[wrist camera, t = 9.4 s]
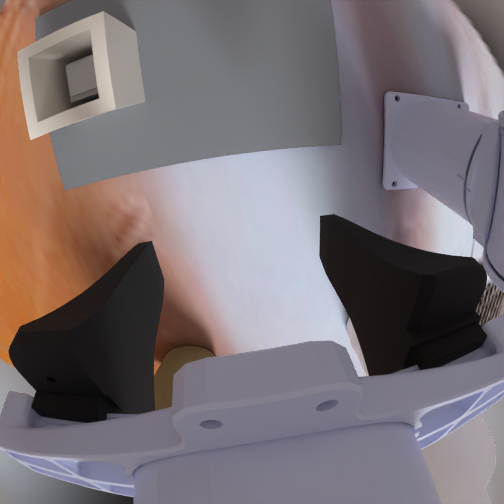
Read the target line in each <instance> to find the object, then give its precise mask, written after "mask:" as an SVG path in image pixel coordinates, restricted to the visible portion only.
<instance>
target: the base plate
mask: <svg viewBox="0 0 504 504" xmlns="http://www.w3.org/2000/svg"><path fill="white" fill-rule="evenodd" d="M103 11H104V12H106V13H107V14H109V15H111V16H112V17H114V18H116V19H117V20H119V21H120V22H122V23H124V24H125V25H127V26H128V27H130V28H131V29H133V30H135V31H136V35H137V44H138V52H139V60H140V67H141V74H142V81H143V88H144V94H145V100H146V102H142V103H138V104H134V105H130V106H127V107H123V108H120V109H116V110H113V111H109V112H106V113H103V114H100V115H97V116H94V117H91V118H88V119H85V120H82V121H79V122H76V123H73V124H70V125H68V126H65V127H62V128H59V129H57V130H54V131H52V132H49V133H50V137H51V142H52V146H53V150H54V154H55V158H56V162H57V165H58V169H59V172H60V176H61V179H62V183H63V186H64V189H65V191H66V190H69V189H73V188H76V187H80V186H83V185H87V184H90V183H94V182H98V181H102V180H106V179H110V178H114V177H118V176H122V175H126V174H130V173H135V172H139V171H144V170H148V169H153V168H158V167H163V166H168V165H173V164H178V163H184V162H189V161H195V160H201V159H207V158H214V157H220V156H227V155H234V154H242V153H249V152H258V151H267V150H276V149H286V148H298V147H311V146H326V145H341V108H340V89H339V73H338V61H337V50H336V40H335V31H334V22H333V14H332V7H331V0H71V1H69V2H67V3H65V4H62V5H60V6H58V7H56V8H54V9H52V10H50V11H48V12H47V13H45V14H43V15H41V16H39V17H37V18H36V41H38V40H40V39H42V38H43V37H45V36H47V35H49V34H51V33H53V32H55V31H57V30H59V29H62V28H64V27H66V26H68V25H70V24H73V23H75V22H77V21H80V20H82V19H84V18H87V17H89V16H92V15H95V14H97V13H100V12H103ZM66 73H67V81H68V87H69V94H70V100H71V103H72V102H78V101H83V103H84V104H85V103H88V102H91V101H94V100H96V99H99V94H98V88H97V81H96V74H95V67H94V59H93V55H90V56H87V57H85V58H82V59H80V60H77V61H75V62H72V63H70V64H68V65H66Z"/></svg>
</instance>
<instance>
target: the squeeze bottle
mask: <svg viewBox="0 0 504 504" xmlns="http://www.w3.org/2000/svg"><path fill="white" fill-rule="evenodd" d="M207 357H215V355H214V354H213V353H212V352H210V351H208V350H206V349H205V348H201V347H197V346H181V347H177V348H173V349H172V350H171V351H169V352H168V353H167V354H166V356H165V357H164V359H163V361H162V363H161V365H160V366H159V368H158V370H157V372H156V374H155V375H154V397H155V411H156V410H160V409H164V408H169V407H172V395H173V378H174V374H175V373H176V372H177V371H178V370H179V369H181V368H182V367H183V366H184V365H185V364H187V363H190V362H193V361H197V360H200V359H204V358H207Z"/></svg>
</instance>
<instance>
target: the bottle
mask: <svg viewBox="0 0 504 504" xmlns="http://www.w3.org/2000/svg"><path fill="white" fill-rule="evenodd" d="M346 328H347V334H348V336H349V338H350V342H351V345H352V347H353V350H354V351H355V353H356V354H357V356H358V358H359V360H360V363H361V365H362V367H363V369H364V372H365V374H366V376H369V374H368V371H367V367H366V364H365V360H364V357H363V353H362V350H361V347H360V344H359V341H358V339H357V336H356V333H355V330H354V328H353V325H352V322H351V320H350V317H349V319H348V322H347V325H346ZM421 451H422V453H423V456H424V458H425V461H426V463H427V466H428V468H429V471H430V473H431V476H432V479H433V481H434V484H435V487H436V489H437V492H438V495H439V497H440V500H441V503H442V504H492V503H491V500H490V497H489V494H488V492H487V489H486V488H487V486H488V484H489V482H490V480H491V477H492V475H493V472H494V470H495V467H496V449H495V442H494V440H493V438H492V436H491V434H490V432H489V430H488V428H487V426H486V424H485V422H484V420H483V418H482V416H481V414H479V415H477V416H476V417H474V418H473V419H472V420H470V421H469V422H467V423H465V424H464V425H462V426H461V427H459V428H458V429H456V430H455V431H453V432H451V433H450V434H448V435H446V436H445V437H443V438H441V439H440V440H438V441H436V442H434V443H433V444H431V445H429V446H427V447H425V448H423V449H422V450H421Z"/></svg>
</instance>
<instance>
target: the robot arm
mask: <svg viewBox="0 0 504 504" xmlns="http://www.w3.org/2000/svg"><path fill="white" fill-rule="evenodd" d="M395 96H397V98H398V99H397V101H395ZM384 106H385V132H384V163H383V180H382V186H383V188H385V189H386V190H399V189H412V188H421V189H423V190H424V191H426V192H427V193H429V194H430V195H432V196H433V197H434V198H436V199H437V200H439V201H440V202H442V203H443V204H444V205H446V206H447V207H449V208H450V209H451V210H453V211H454V212H456V213H457V214H458V215H460V216H461V217H462V218H464V219H465V220H466V221H468V222H469V223H470V224H471V225H473V238H474V239H475V240H476V241H477V242H478V243H479V244H481V245H482V246H483V247H484V250H483V257H482V259H483V265H484V268H485V269H484V268H483V267H482V266H481V265H480V264H479V263H478V262H477V261H476V260H475V259H474V258H472V257H462V256H451V255H445V254H439V253H434V252H429V251H425V250H421V249H417V248H413V247H410V246H406V245H403V244H400V243H398V242H395V241H392V240H389V239H387V238H385V237H382V236H380V235H378V234H375V233H373V232H371V231H369V230H367V229H365V228H363V227H361V226H358V225H356V224H354V223H352V222H350V221H348V220H346V219H344V218H342V217H340V216H337V215H334V214H332V215H324V216H320V259H321V262H322V264H323V267H324V270H325V272H326V275H327V276H328V278H329V280H330V282H331V284H332V286H333V287H334V289H335V291H336V293H337V295H338V296H339V298H340V300H341V302H342V304H343V306H344V307H345V309H346V311H347V313H348V315H349V317H350V320H351V322H352V325H353V328H354V330H355V333H356V336H357V339H358V341H359V344H360V347H361V350H362V353H363V357H364V360H365V364H366V367H367V371H368V374H369V376H366V377H358V375H357V373H356V370H355V368H354V366H353V363H352V361H351V359H350V356H349V354H348V352H347V349H346V348H345V347H343V346H341V345H339V344H337V343H335V342H333V341H309V342H304V343H298V344H293V345H288V346H282V347H277V348H271V349H265V350H258V351H252V352H245V353H238V354H231V355H223V356H215V357H207V358H204V359H200V360H197V361H193V362H190V363H187V364H185V365H184V366H183V367H182V368H181V369H179V370H178V371H177V372H176V373H175V374H174V378H173V395H172V407H169V408H164V409H160V410H156V411H155V397H154V350H155V341H156V335H157V329H158V324H159V319H160V313H161V308H162V303H163V294H164V278H163V275H162V271H161V268H160V265H159V262H158V259H157V256H156V253H155V250H154V246H153V243H152V241H149V242H143V243H138V244H137V245H136V246H134V247H133V248H132V249H131V250H130V251H129V252H128V253H127V254H126V255H125V256H124V257H123V258H121V259H120V260H119V261H118V262H117V263H116V264H115V265H114V266H113V267H112V268H111V269H110V270H109V271H108V272H107V273H105V274H104V275H103V276H102V277H101V278H100V279H99V280H98V281H97V282H95V283H94V284H93V285H92V286H90V287H89V288H88V289H87V290H85V291H84V292H83V293H81V294H80V295H78V296H77V297H75V298H74V299H72V300H71V301H69V302H68V303H66V304H65V305H63V306H61V307H60V308H58V309H56V310H54V311H53V312H51V313H49V314H47V315H45V316H43V317H41V318H39V319H36V320H34V321H32V322H29V323H27V324H25V325H22V326H20V328H19V330H18V332H17V333H16V335H15V337H14V339H13V341H12V343H11V345H10V348H9V357H10V359H11V361H12V363H13V365H14V366H15V368H16V369H17V370H18V371H19V373H20V374H21V375H22V376H23V377H24V378H25V379H26V380H27V381H28V383H29V384H30V385H31V386H33V388H34V389H35V390H36V393H35V397H32V396H30V395H28V394H25V393H18V392H12V391H10V392H8V395H7V398H6V401H5V403H4V406H3V409H2V413H1V415H0V449H1V450H2V451H4V452H5V453H7V454H8V455H9V456H11V457H12V458H14V459H15V460H17V461H19V462H20V463H22V464H23V465H25V466H27V467H28V468H30V469H32V470H33V471H35V472H38V473H41V474H44V475H47V476H51V477H54V478H57V479H60V480H64V481H67V482H70V483H74V484H78V485H81V486H85V487H89V488H92V489H97V490H101V491H105V492H110V493H114V494H119V495H125V496H131V497H134V504H442V503H441V500H440V497H439V495H438V492H437V489H436V487H435V484H434V481H433V479H432V476H431V473H430V471H429V468H428V466H427V463H426V461H425V458H424V456H423V453H422V451H421V450H422V449H423V448H425V447H427V446H429V445H431V444H433V443H434V442H436V441H438V440H440V439H441V438H443V437H445V436H446V435H448V434H450V433H451V432H453V431H455V430H456V429H458V428H459V427H461V426H462V425H464V424H465V423H467V422H469V421H470V420H472V419H473V418H474V417H476V416H477V415H479V414H480V413H482V412H483V411H485V410H486V409H488V408H489V407H490V406H492V405H493V404H495V403H496V402H497V401H499V400H500V399H502V398H503V397H504V315H501V316H499V317H497V318H495V319H493V320H491V321H489V322H487V323H486V324H485V325H484V326H483V327H482V328H481V327H480V325H479V324H478V323H477V322H478V321H479V319H480V316H479V315H478V314H477V313H476V311H475V310H476V308H477V306H478V304H479V302H480V299H481V297H482V295H483V292H484V290H485V287H486V281H487V275H488V276H489V277H490V279H491V280H492V282H493V283H494V284H495V285H496V286H497V287H498V288H499V289H500V290H501V291H502V292H504V110H503V111H501V112H499V115H498V120H496V119H493V118H490V117H487V116H484V115H481V114H478V113H474V112H471V111H469V106H468V104H467V103H464V102H459V101H454V100H448V99H443V98H437V97H431V96H424V95H417V94H409V93H400V92H390V91H389V92H386V93H385V96H384ZM457 106H458V108H457ZM393 182H395V183H394V185H392V183H393ZM486 273H487V274H486Z"/></svg>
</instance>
